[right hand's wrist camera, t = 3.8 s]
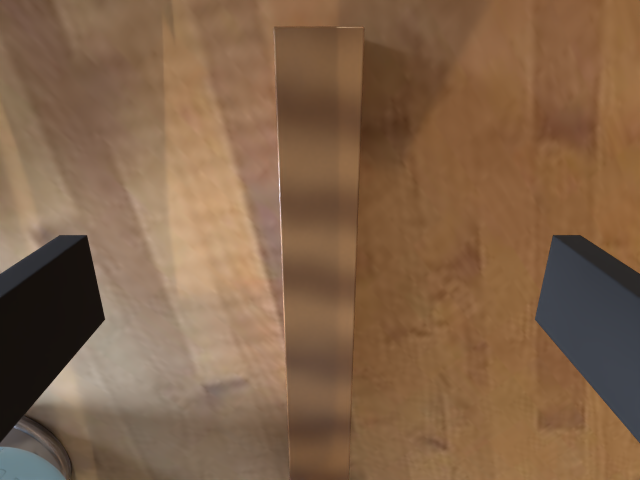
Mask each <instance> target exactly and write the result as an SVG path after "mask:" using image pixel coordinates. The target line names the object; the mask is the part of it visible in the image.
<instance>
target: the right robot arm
mask: <svg viewBox="0 0 640 480" xmlns="http://www.w3.org/2000/svg"><path fill="white" fill-rule="evenodd" d="M104 320H105V317H104V312H103V308H102V303H101V298H100V294H99V289H98V284H97V280H96V275H95V270H94V266H93V261H92V256H91V252H90V247H89V242H88V238H87V235H59V236H58V237H56V238H55V239H53V240H52V241H50V242H49V243H47V244H46V245H44V246H42V247H41V248H39V249H38V250H36V251H35V252H33V253H32V254H30V255H29V256H27V257H26V258H24V259H23V260H21V261H19V262H18V263H16V264H15V265H13V266H12V267H10V268H9V269H7V270H6V271H4V272H3V273H1V274H0V443H1V442H2V440H3V439H4V438H5V437H6V436H7V434H8V433H9V432H10V431H11V430H12V429H13V427H14V426H15V425H16V424H17V423H18V421H19V420H20V419H21V418H22V417H23V416H24V414H25V413H26V412H27V411H28V410H29V409H30V407H31V406H32V405H33V404H34V403H35V401H36V400H37V399H38V398H39V397H40V396H41V394H42V393H43V392H44V391H45V390H46V388H47V387H48V386H49V385H50V384H51V383H52V381H53V380H54V379H55V378H56V377H57V375H58V374H59V373H60V372H61V371H62V370H63V368H64V367H65V366H66V365H67V364H68V363H69V361H70V360H71V359H72V358H73V357H74V355H75V354H76V353H77V352H78V351H79V350H80V348H81V347H82V346H83V345H84V344H85V342H86V341H87V340H88V339H89V338H90V337H91V335H92V334H93V333H94V332H95V331H96V330H97V328H98V327H99V326H100V325H101V324H102V322H103V321H104ZM535 320H536V321H537V322H538V324H539V325H540V326H541V327H542V328H543V330H544V331H545V332H546V333H547V334H548V335H549V337H550V338H551V339H552V340H553V341H554V342H555V344H556V345H557V346H558V347H559V348H560V350H561V351H562V352H563V353H564V354H565V355H566V357H567V358H568V359H569V360H570V361H571V363H572V364H573V365H574V366H575V367H576V368H577V370H578V371H579V372H580V373H581V374H582V375H583V377H584V378H585V379H586V380H587V381H588V383H589V384H590V385H591V386H592V387H593V388H594V390H595V391H596V392H597V393H598V394H599V396H600V397H601V398H602V399H603V400H604V401H605V403H606V404H607V405H608V406H609V407H610V409H611V410H612V411H613V412H614V413H615V414H616V416H617V417H618V418H619V419H620V420H621V421H622V423H623V424H624V425H625V426H626V427H627V429H628V430H629V431H630V432H631V433H632V434H633V436H634V437H635V438H636V439H637V440H638V442H639V443H640V274H639V273H637V272H636V271H634V270H633V269H631V268H630V267H628V266H627V265H625V264H624V263H622V262H621V261H619V260H617V259H616V258H614V257H613V256H611V255H610V254H608V253H607V252H605V251H604V250H602V249H601V248H599V247H597V246H596V245H594V244H593V243H591V242H590V241H588V240H587V239H585V238H584V237H582V236H581V235H553V238H552V242H551V247H550V252H549V256H548V261H547V266H546V270H545V275H544V280H543V284H542V289H541V294H540V298H539V303H538V308H537V312H536V317H535Z"/></svg>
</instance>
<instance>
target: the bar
mask: <svg viewBox="0 0 640 480" xmlns="http://www.w3.org/2000/svg"><path fill="white" fill-rule="evenodd" d="M273 29H274V56H275V84H276V112H277V139H278V167H279V194H280V222H281V250H282V277H283V305H284V332H285V360H286V387H287V415H288V443H289V470H290V480H349V458H350V429H351V400H352V371H353V343H354V314H355V285H356V256H357V227H358V198H359V169H360V140H361V111H362V82H363V53H364V27H274V28H273Z"/></svg>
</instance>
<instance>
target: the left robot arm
mask: <svg viewBox="0 0 640 480" xmlns="http://www.w3.org/2000/svg"><path fill="white" fill-rule="evenodd" d="M70 478H71V463H70V460H69V457H68V454H67V452H66V450H65V449H64V447H63V446H62V444H61V443H60V442H59V441H58V439H57V438H56V437H55V436H54V435H53V434H52V433H51V432H49V431H48V430H47V429H46V428H44V427H43V426H41V425H40V424H38V423H37V422H35V421H33V420H31V419H29V418H27V417H25V416H23V417H22V418H21V419H20V420H19V421H18V423H17V424H16V425H15V426H14V427H13V429H12V430H11V431H10V432H9V433H8V434H7V436H6V437H5V438H4V439H3V440H2V442H1V443H0V480H70Z"/></svg>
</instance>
